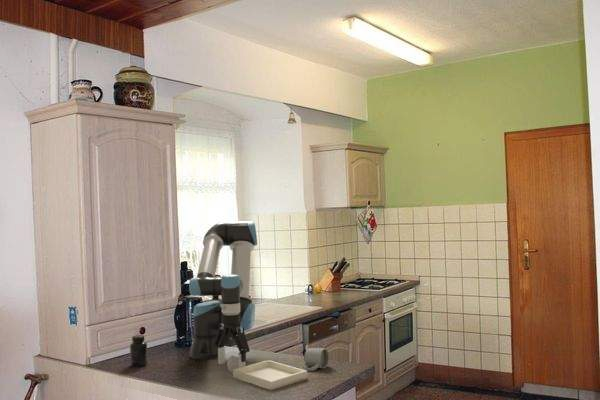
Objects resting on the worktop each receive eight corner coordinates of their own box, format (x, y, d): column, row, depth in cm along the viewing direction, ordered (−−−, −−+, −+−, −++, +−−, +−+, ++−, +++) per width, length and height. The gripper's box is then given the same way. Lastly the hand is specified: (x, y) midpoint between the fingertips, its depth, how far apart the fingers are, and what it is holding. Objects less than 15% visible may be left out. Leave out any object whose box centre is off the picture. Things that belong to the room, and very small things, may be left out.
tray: (233, 377, 213) (233, 369, 213) (268, 367, 226) (268, 360, 226) (271, 390, 197) (271, 381, 197) (307, 378, 210) (307, 370, 210)
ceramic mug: (311, 363, 231) (311, 344, 231) (329, 365, 227) (329, 346, 227) (299, 370, 222) (298, 351, 222) (317, 373, 218) (317, 353, 218)
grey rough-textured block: (237, 380, 221) (240, 368, 219) (222, 376, 221) (225, 364, 220) (244, 366, 230) (247, 354, 228) (229, 362, 231) (232, 350, 229)
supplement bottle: (139, 361, 237) (138, 333, 238) (150, 364, 234) (150, 335, 234) (126, 366, 232) (126, 336, 232) (138, 368, 228) (138, 338, 228)
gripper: (205, 311, 232) (205, 362, 231) (242, 318, 214) (243, 374, 213) (220, 308, 237) (220, 359, 236) (258, 315, 219) (258, 370, 219)
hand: (231, 366), depth 225 cm, fingers open, 13 cm apart
